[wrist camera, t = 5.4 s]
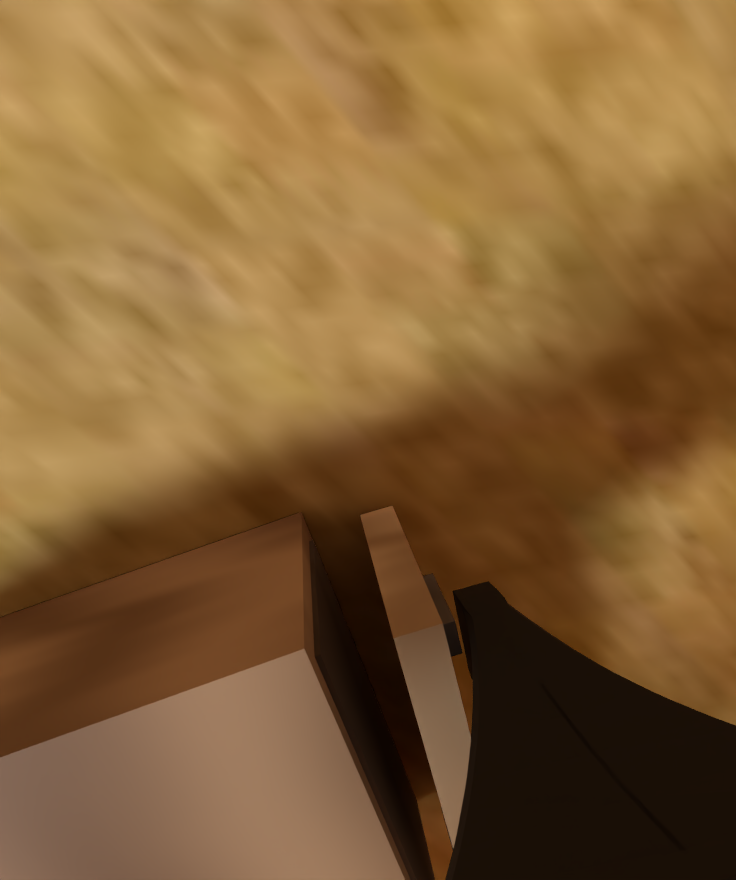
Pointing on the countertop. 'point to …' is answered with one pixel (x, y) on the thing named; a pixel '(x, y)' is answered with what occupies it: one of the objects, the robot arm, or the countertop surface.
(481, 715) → the robot arm
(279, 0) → the countertop surface
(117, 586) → the cabinet
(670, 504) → the countertop surface
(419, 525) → the countertop surface
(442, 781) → the door
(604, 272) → the countertop surface
